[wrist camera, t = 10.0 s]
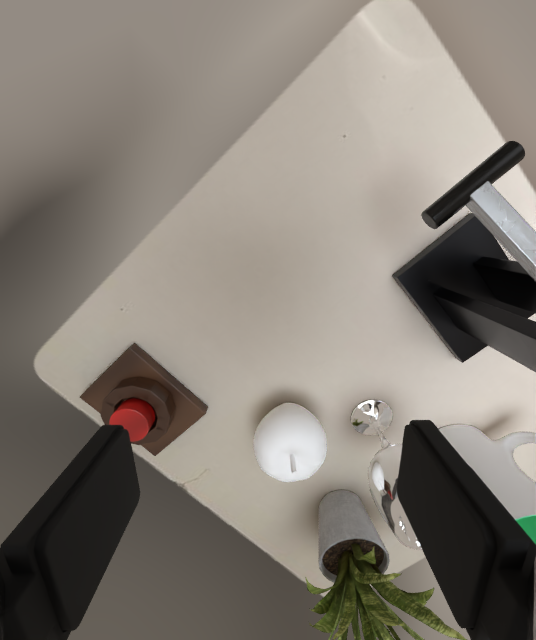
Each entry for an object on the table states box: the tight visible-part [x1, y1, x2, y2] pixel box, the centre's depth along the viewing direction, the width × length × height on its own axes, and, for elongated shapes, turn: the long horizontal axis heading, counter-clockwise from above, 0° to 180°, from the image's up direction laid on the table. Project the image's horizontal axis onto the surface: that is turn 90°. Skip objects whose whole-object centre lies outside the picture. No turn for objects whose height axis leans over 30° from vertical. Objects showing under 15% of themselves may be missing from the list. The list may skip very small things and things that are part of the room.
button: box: [109, 398, 155, 442], centre depth 28 cm, size 4×4×2 cm
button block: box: [80, 343, 208, 456], centre depth 30 cm, size 10×8×3 cm
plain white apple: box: [253, 403, 327, 482], centre depth 28 cm, size 7×7×8 cm
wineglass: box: [351, 399, 422, 550], centre depth 26 cm, size 6×6×12 cm
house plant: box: [306, 490, 467, 640], centre depth 28 cm, size 14×14×16 cm
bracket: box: [392, 213, 536, 372], centre depth 20 cm, size 11×8×15 cm
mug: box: [439, 424, 536, 544], centre depth 28 cm, size 12×8×10 cm, turn 140°
